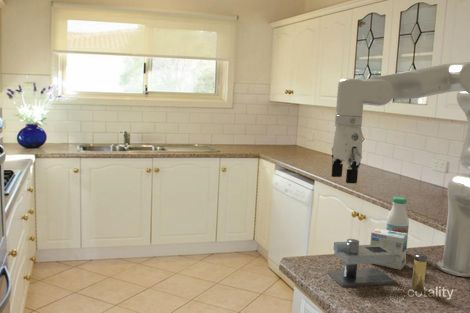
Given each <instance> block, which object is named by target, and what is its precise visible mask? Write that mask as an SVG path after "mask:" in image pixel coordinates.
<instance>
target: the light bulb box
mask: <svg viewBox="0 0 470 313" xmlns="http://www.w3.org/2000/svg"><path fill="white" fill-rule="evenodd" d="M408 237H409V233H408V234H406V233H400V232H394V231H389V230H385V229H384V228H383V229H382V228H378V227H377V228H376V227H375V229H374V230H373V231H371V235H370V244H369V245H382V246H384V247H385V248H387V249H389V250H390V251H392V252H394V253H395V254H396V262H395V263H371V264H373V265H377V266H381V267H385V266H386V268H390V269H395V270H399V271H402V269H403V268H404V267H405V265H406V257H407V250H408V249H407V248H408V247H407V246H408V239H407V238H408Z"/></svg>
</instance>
